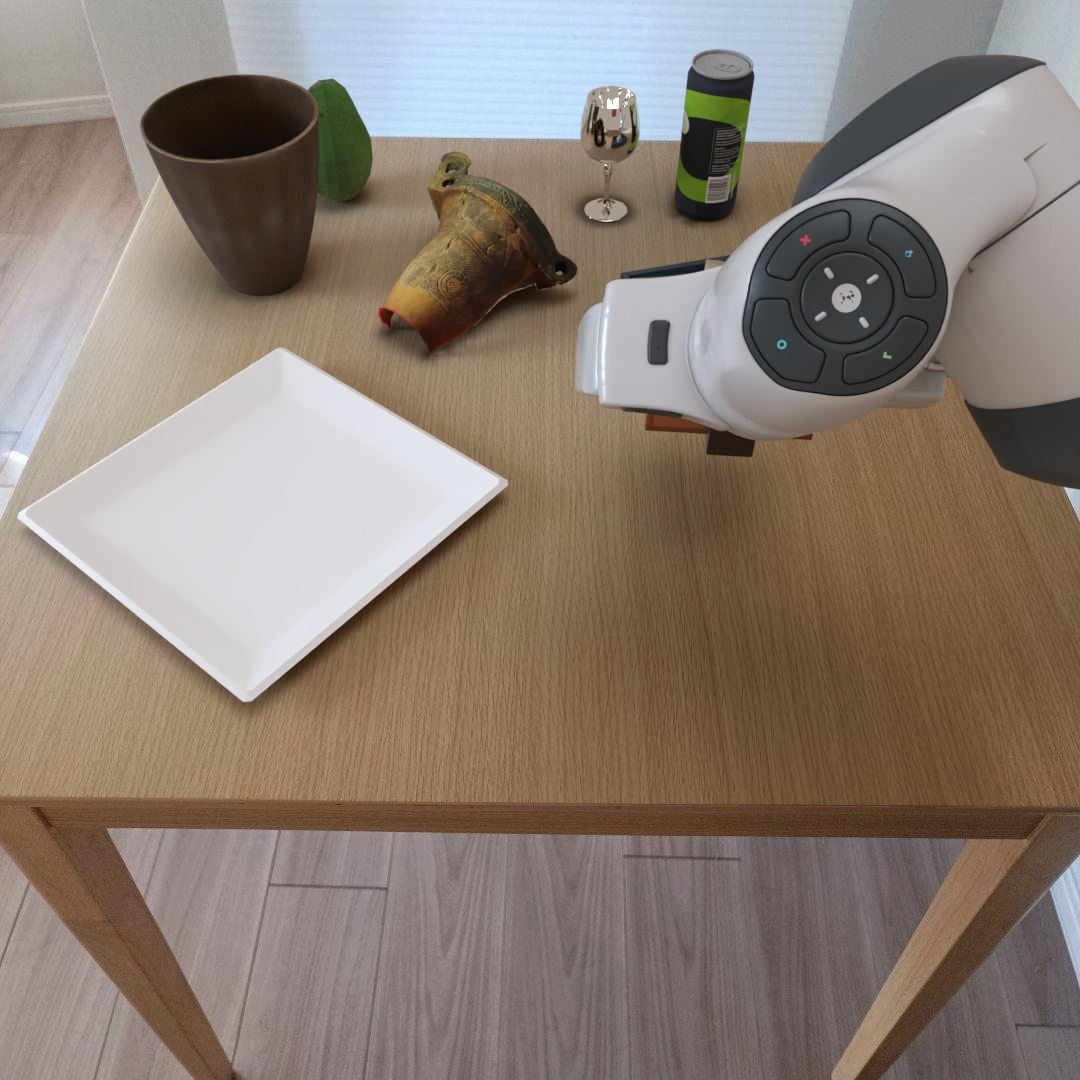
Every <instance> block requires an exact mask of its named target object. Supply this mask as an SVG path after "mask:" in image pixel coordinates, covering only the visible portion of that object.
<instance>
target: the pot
mask: <svg viewBox="0 0 1080 1080" xmlns="http://www.w3.org/2000/svg"><path fill="white" fill-rule="evenodd" d="M472 164H473V161H472V160H471V158H470V156H469V155H468V154H466V153H464V152H462V151H450V152H447V153H445V154H443V155H442V156H441V158H440V163H439V164H438V166H437V168H436V172H435V174H434V175H433V180H431V181H429V182H427V184H426V188H427V190H426V193H427V194H428V196H429V201H430V202H431V205H432V208H433V210H434V212H436V216H437V220H438V221H439V223H438V229H437V231H436V233H435V235H434V236H433V237H432V238H431V239H430V240H429V241H428V242H427V243H426V244H425V245H424V246H423V247H422V249H421V250H420V251H419V252H418V253H417V254H416V255H415V257H414V258H412V260H411V262H410V263H409V264H408V266H407V267H406V269H405V270H404V271H403V273H402V274H401V276H399V278H398V280H397V281H396V283H395V284H394V285H393V287H392V289H391V291H390V293H389V295H388V296H387V298H386V300H385V304H384V306H382V307H378V313H377V315H378V318H379V320H380V322H381V323H382V324H384V325H386V326H387V327H388V328H389V330H391V329H392V324H391V322H392V319H393V316H394V314H396V315H398V316H399V317H401V318H403V320H404V321H405V322H406V323H407V324H409V325H410V326H411V327H412V328H413V330H415V331H416V332H417V333H418V334H419V336H420V337H421V338H422V340H423V343H424V344H425V345H426V347H427V351H428V352H429V355H431V354H432V353H433V352H434V351H435V350H437V348H439V347H442V346H444V345H450V344H451V343H452V341H453V340H454V339H456V338H457V339H458V338H459V337H460V336H462V334H465V332H467V331H468V329H471V328H472V327H474V326H476V325H478V323H480V322H481V321H482V320H483V319H484V317H485V315H488V313H489V312H490V311H491V310H492V309H493V308H495V307H496V306H497V305H498V303H499V302H500V301H501V300H503V299H504V298H507V297H508V295H510V294H513V293H514V292H519V291H521V290H526V289H527V288H528V287H529V288H530V287H533V284H534V286H535V287H536V290H537V291H539V292H540V291H546V290H549V289H551V288H555V287H556V286H561V287H562V286H563V285H565V286H567V285H568V284H570V283H572V281H573V280H575V278H576V277H577V275H578V273H577V272H578V270H579V267H578V264H577V263H576V262H575V261H574V260H572V259H571V258H569V257H568V256H566V255H564V254H562V253H561V252H560V251H559V250H558V249H557V247H556V244H555V241H554V239H553V236H552V234H551V233H550V232H549V229H548V228H547V227H546V225H545V224H544V222H543V221H542V220H541V218H540V216H539V215H538V214H537V212H536V211H535V209H534V208H533V206H532V205H531V204H530V203H529V201H528V200H526V199H525V198H524V197H523V196H522V195H520V194H519V193H517V192H515V191H514V190H513V189H511V188H509V187H508V186H505V185H503V184H502V183H500V182H498V181H496V180H492V179H490V178H487V177H484V176H476V175H472V174H469V168H470V166H471V165H472ZM450 171H453V172H450ZM447 186H448V187H447ZM559 272H561V273H560V274H559Z"/></svg>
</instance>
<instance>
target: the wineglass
mask: <svg viewBox="0 0 1080 1080" xmlns="http://www.w3.org/2000/svg"><path fill="white" fill-rule="evenodd" d="M640 122H641V121H640V110H639V104H638V100H637V96H636V94H635V93H634V92H633V91H632V90H631V89H628V88H626V87H622V86H617V85H605V86H604V85H603V86H599V87H595V88H594V89H592V90H589V92H588V94H587V96H586V99H585V103H584V107H583V110H582V115H581V120H580V126H579V127H580V128H579V134H580V143H581V146H582V149H583V150H584V151H585V153H586V155H587V156H588V157H589V158H591V159H592V160H594V161H596V162H599V163H602V164H603V167H602V175H603V177H604V192H603V193H604V194H603V197H599V198H595V199H592V200H590V201H588V202H587V203H586V204H585V206H584V208H583V211H584V214H585V215H586V216H587V218H589V219H590V220H593V221H596V222H599V223H614V222H619V221H620V220H622V219H624V218H625V217H626V216H627V214H628V207H627V206H626V204H625V203H624V202H622V201H620V200H618V199H616V198H610V183H611V179H612V175H613V172H614V165H613V164H617V163H621V162H623V161H625V160H627V159H629V157H631V156H632V155H633V153H634V152H635V150H636V149H637V147H638V144H639V139H640V135H641V134H640V132H641V123H640Z"/></svg>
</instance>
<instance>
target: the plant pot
mask: <svg viewBox="0 0 1080 1080" xmlns="http://www.w3.org/2000/svg"><path fill="white" fill-rule="evenodd" d="M139 131H140V134H141V137H142V139H143V141H144V144H145V146H146V148H147V151H148V152H149V155H150V157H151V159H152V161H153V163H154V166H155V167H156V170H157V172H158V174H159V177H160V178H161V181H162V182H163V185H164V186H165V189H166V190H167V192H168V194H169V196H170V198H171V200H172V202H173V204H174V206H175V207H176V210H177V211H178V212H179V214H180V216H181V218H182V220H183V221H184V223H185V225H186V226H187V228H188V230H189V231H190V233H191V234H192V236H193V238H194V239H195V241H196V242H197V244H198V245H199V247H200V248H201V250H202V251H203V253H204V254H205V256H206V257H207V259H209V261H210V262H211V264H212V266H214V268H215V270H216V271H217V272H218V273H219V274H220V276H221V277H222V278H223V279H224V281H225V283H227V285H228V286H229V287H230V288H231V289H233V290H235V291H236V292H239V293H242V294H244V295H250V296H269V295H273V294H277V293H281V292H283V291H285V290H287V289H289V288H291V287H292V286H294V285H296V283H298V282H299V280H300V279H301V278H302V276H303V275H304V274H303V273H304V271H305V266H306V262H307V259H308V255H309V250H310V245H311V240H312V235H313V229H314V223H315V216H316V209H317V199H318V198H317V197H318V194H317V190H318V174H319V108H318V104H317V101H316V99H315V98H314V97H313V95H312V94H311V93H310V92H309V91H308V89H306V88H305V87H304V86H301V85H300V84H298V83H295V82H293V81H291V80H288V79H286V78H281V77H277V76H271V75H264V74H253V73H252V74H250V73H249V74H248V73H246V74H243V73H242V74H226V75H225V74H224V75H219V76H211V77H207V78H203V79H198V80H195V81H192V82H189V83H185V84H183V85H180V86H178V87H176V88H173V89H172V90H170V91H167V92H165V93H164V94H163V95H161V96H159V97H158V98H156V99H155V100H154V101H153V102H152V103H151V104H150V105H149V106H148V107H147V108H146V110H144V112H143V114H142V116H141V119H140V124H139Z"/></svg>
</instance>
